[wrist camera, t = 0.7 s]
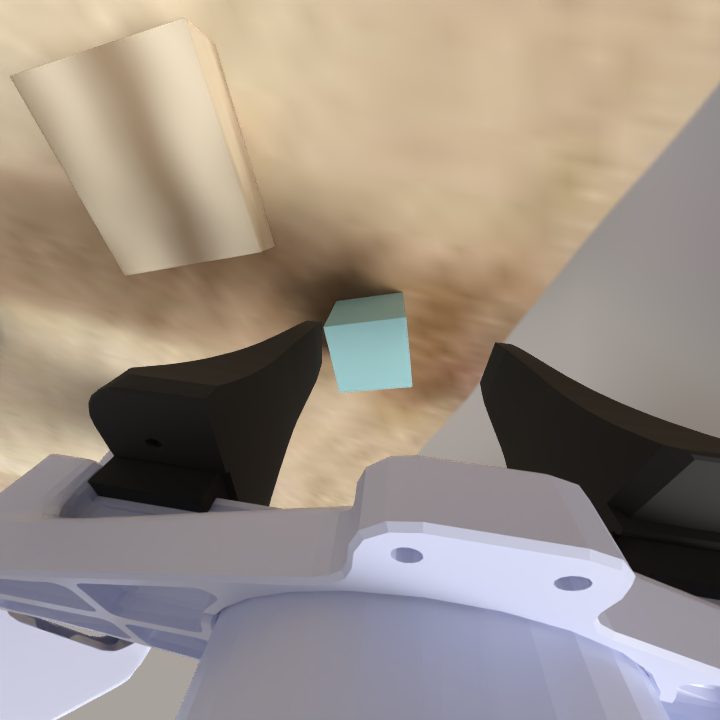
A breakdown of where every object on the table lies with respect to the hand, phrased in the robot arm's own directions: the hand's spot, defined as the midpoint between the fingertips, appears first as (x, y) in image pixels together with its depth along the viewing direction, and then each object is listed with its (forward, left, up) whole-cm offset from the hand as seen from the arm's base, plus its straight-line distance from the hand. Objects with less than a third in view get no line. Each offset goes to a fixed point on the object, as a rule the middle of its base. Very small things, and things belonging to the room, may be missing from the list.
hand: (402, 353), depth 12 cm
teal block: (-2, -3, -10) cm, 11 cm away
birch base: (-13, +9, -10) cm, 19 cm away
